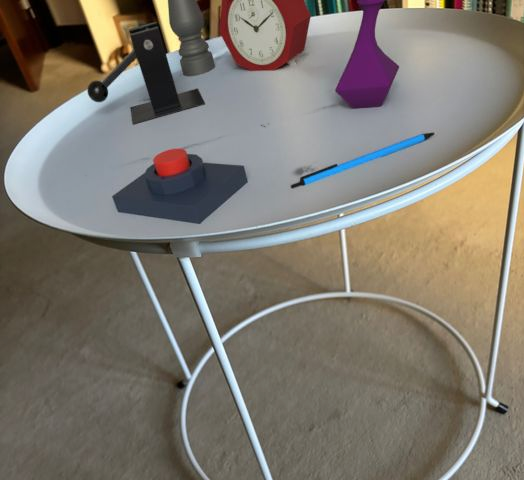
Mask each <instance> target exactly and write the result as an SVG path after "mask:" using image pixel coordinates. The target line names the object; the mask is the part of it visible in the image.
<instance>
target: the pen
mask: <svg viewBox="0 0 524 480" xmlns="http://www.w3.org/2000/svg"><path fill="white" fill-rule="evenodd" d="M434 135H436V132H426V133H421V134H417V135H415V136H413V137H410V138H407V139H404V140H401V141H399V142H396V143H393V144H391V145H388V146H385V147H383V148H379V149H377V150H375V151H372V152H370V153H367V154H364V155H361V156H359V157H355V158H353V159H351V160H348V161H345V162H342V163H340V164H337V163H335V164H332V165H329V166H327V167H324V168H322V169H318V170H316V171H313V172H311V173H308V174H305V175H303V176H300V177H299V181H297V182H295V183H293V184H290V188H291V189H294V188H297V187H300V186H302V187H305V186H307V185H309V184H312V183H315V182H317V181H321V180H323V179H325V178H328V177H331V176H333V175H336V174H340V173H342V172H344V171H346V170H349V169H352V168H355V167H357V166H360V165H364V164H366V163H368V162H371V161H374V160H376V159H379V158H383V157H385V156H388V155H390V154H391V155H392V154H393V153H396V152H398V151H401V150H404V149H406V148H410V147H412V146H414V145H417V144H420V143H423V142H425V141H427V140H428V139H429V138H431V137H432V136H434Z"/></svg>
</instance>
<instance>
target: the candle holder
mask: <svg viewBox="0 0 524 480" xmlns="http://www.w3.org/2000/svg"><path fill="white" fill-rule="evenodd" d="M167 9H168V22H169V27H170V29H171V31H172V32H173V33H174V35H175V36H176V37H177V39H178V41H179V42H180V44H179V48H178V55H179V56H180V57H181V58H180V59H179V64H180V67H181V71H182V75H183V76H184V77H196V76H200V75H204V74H206V73H209V72H211V71H212V70H214V69H215V68H216V63H215V60H214V57H213V56H214V55H213V52H212V51H211V50H209V48H210V45H209V43H208V42H207V41H206V40H205V39H204V38H203V37H202V36H203V32H202V31H203V28H204V23H205V21H204V15H203V12H202V11H201V9H200V6H199V4H198V1H197V0H167Z"/></svg>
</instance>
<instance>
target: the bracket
mask: <svg viewBox="0 0 524 480" xmlns="http://www.w3.org/2000/svg"><path fill="white" fill-rule="evenodd" d="M147 27H148V28H149V29H147V30H145V29H146V28H147ZM128 31H129V36H130V40H131V43H132V46H133V49H134V50H135V53H136V56H137V58H136V59H137V63H138V65H139V69H140V71H141V75H142V78H143V81H144V84H145V87H146V90H147V94H148V97H149V100H150V101H148V102H144V103H140V104H138V105H134V106H131V107H129V109H130V116H131V123H132V125H133V126H135V125H137V124H141V123H145V122H148V121H152V120H156V119H159V118H163V117H166V116H170V115H173V114H176V113H181V112H184V111H186V110H190V109H194V108H198V107H201V106H204V105H206V103H205V99H204V98H203V97H202V93H201V92H200V89H199V88H194V89H191V90H186V91H183V92H180V93H178V91H177V87H176V84H175V81H174V77H173V73H172V70H171V67H170V63H169V60H168V55H167V52H166V49H165V45H164V43H163V39H162V34H161V32H160V28H159V26H158V23H157V22H156V21H154V22H151V23H147V24H142V25H139V26H135V27H132V28H129V29H128Z"/></svg>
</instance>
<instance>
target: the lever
mask: <svg viewBox="0 0 524 480" xmlns="http://www.w3.org/2000/svg"><path fill="white" fill-rule="evenodd" d="M147 29H149V28H148V27H147V28H146V29H145V30H147ZM136 59H137V56H136V53H135V50H134V48H133V49H132V50H131V51H130V52H129V53H128V54H127V55H126V56H125V57H124V58H123V59H122V60H121V61H120V62H119V63H118V64H117V66H115V68H113V70H112V71H110V72H109V74H107V76H105V77H104V79H103V80H97V79H96V80H92V81H91V82H90V83H89V84H88V85H87V89H86V92H87V96H88V97H89V99H90V100H91V101H93V102H94V103H103V102H104V101H106V100H107V99H108V97H109V87H110V86H111V85H112V84H113V82H115V81H116V80H117V78H119V77H120V75H121V74H123V72H124V71H125V70H126V69H127V68H128V67H129V66H131V64H132V63H133V62H134V61H136Z"/></svg>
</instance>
